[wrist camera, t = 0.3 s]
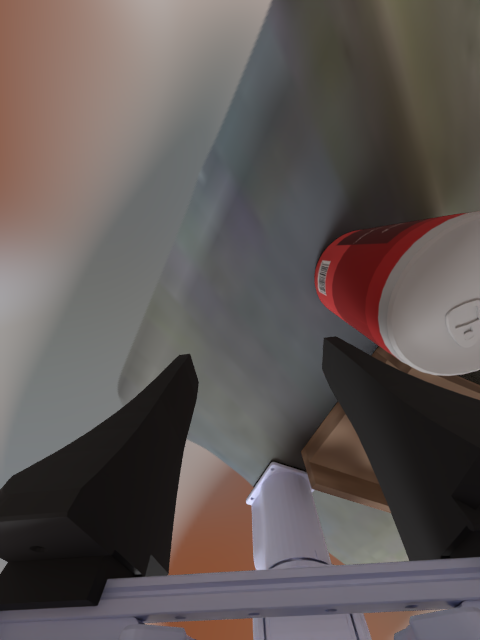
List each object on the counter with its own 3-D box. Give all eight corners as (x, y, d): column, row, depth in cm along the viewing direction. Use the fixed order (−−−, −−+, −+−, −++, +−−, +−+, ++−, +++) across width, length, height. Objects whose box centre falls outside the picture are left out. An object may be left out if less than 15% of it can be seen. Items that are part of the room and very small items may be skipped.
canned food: (339, 327, 21) (430, 402, 11) (294, 269, 19) (353, 294, 9) (407, 279, 20) (591, 314, 9) (365, 210, 18) (539, 158, 7)
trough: (467, 506, 31) (502, 547, 27) (300, 451, 28) (311, 488, 23) (573, 425, 25) (640, 460, 21) (380, 343, 22) (413, 366, 18)
